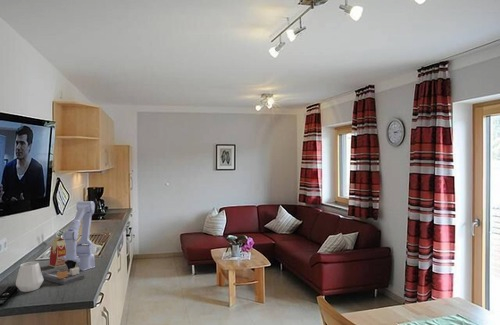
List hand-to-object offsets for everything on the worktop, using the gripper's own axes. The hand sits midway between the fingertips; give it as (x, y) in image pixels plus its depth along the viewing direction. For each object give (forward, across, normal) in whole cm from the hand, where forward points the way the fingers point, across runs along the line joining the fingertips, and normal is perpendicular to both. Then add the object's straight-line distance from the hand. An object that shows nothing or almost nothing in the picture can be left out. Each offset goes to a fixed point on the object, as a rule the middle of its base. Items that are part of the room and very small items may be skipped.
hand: (71, 272), depth 220 cm
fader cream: (+1, +3, 0) cm, 3 cm away
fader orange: (0, +2, -7) cm, 7 cm away
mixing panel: (+3, -5, -4) cm, 7 cm away
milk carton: (+3, -31, +11) cm, 33 cm away
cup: (+3, -3, -23) cm, 23 cm away
